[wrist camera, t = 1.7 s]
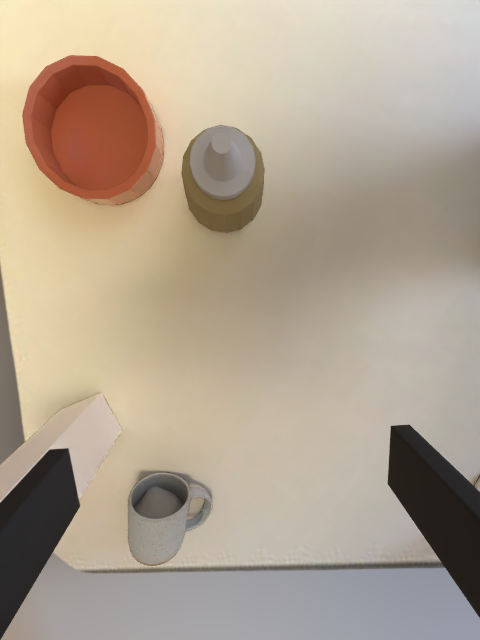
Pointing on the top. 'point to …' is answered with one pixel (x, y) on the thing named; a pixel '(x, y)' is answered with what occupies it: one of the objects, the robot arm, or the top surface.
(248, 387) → the top surface
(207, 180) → the squeeze bottle
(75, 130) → the holder
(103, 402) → the milk
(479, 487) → the candlestick
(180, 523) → the ceramic mug
